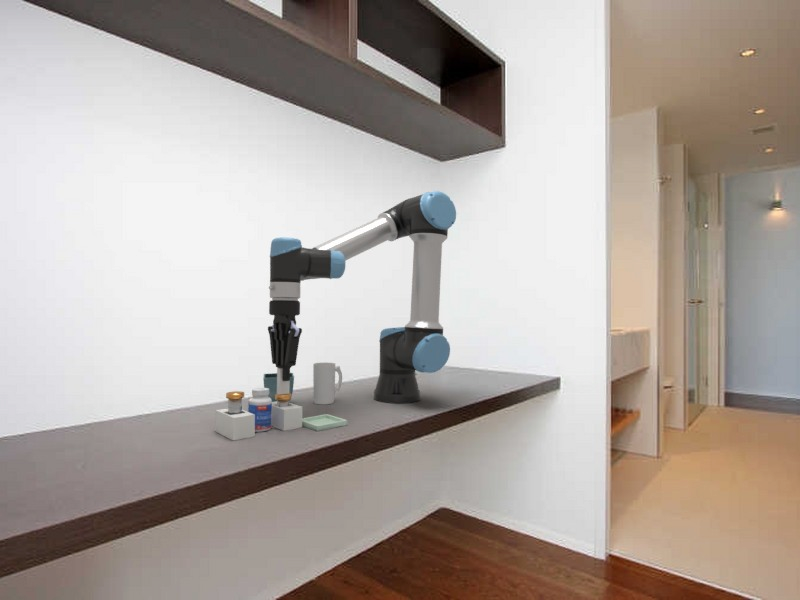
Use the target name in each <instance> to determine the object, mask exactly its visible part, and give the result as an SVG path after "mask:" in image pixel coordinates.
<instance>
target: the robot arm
mask: <svg viewBox="0 0 800 600" xmlns="http://www.w3.org/2000/svg"><path fill="white" fill-rule="evenodd" d="M456 218H457V209H456V206H455V204H454V201H452V200H451V198H450V196H449V195H447V193H444V192H442V191H440V190H439V191H438V190H437V191H436V190H433V191H428V192H424V193H422V194H420V195H417V196H414V197H413V196H412V197H410V198H407V199H405V200H403V201H401V202H399V203H398V204H396V205H394V206H393V207H391V208H389V209H387V210H385V211H383V212H381V213H379V214H378V215H377V218H374V219H373V220H372V221H369V222H367V223H365V224H362V225H360V226H358V227H356V228H355V227H354V229H352V230H349V231H347V232H345V233H343V234H340V235H338V236H336V237H334V238H332V239H329V240H327V241H325V242H323V243H321V244H319V245H316V246H314V247H312V248H306V247H303V245H302V241H301V239H299V238H295V237H285V236H284V237H283V236H282V237H275V238H273V239H272V240H271V242H270V251H269V252H270V253H269V287H268V289H269V297H270V298H269V299H271V300H270V301H269V304H268V310H269V311H268V314H269V315H270V316H274V317H273V320H272V321H273V323H272V325H270V326H268V327H267V330H268V335H269V343H270V344H269V345H270V353H271V354H270V355H271V363H272V364H273V365H275V367H276V373H277V394H279V395H281V394H289V388H290V373H291V368H292V367H294V366H296V363H297V358H298V357H297V356H298V352H299V351H298V350H299V345H300V338H301V335H302V332H303V329H302V327H301V328H300V327H297V320H296V316H299V315H301V301H299V299H300V298H301V282H302V281H305V280H316V279H329V280H333V279H340V278H342V277H343V275H344V274H345V272H346V271H345V270H346V263H347V262H346V261H348V260H350V259H352V258H354V257H356V256H358V255H360V254H361V253H364V252H366V251H369V250H371V249H373V248H375V247H377V246H378V245H381V244H383V243H385V242H394V241H396V240H398V239H400V238H405V237H409V238H410V240H411V241H412V242H413V257H412V258H413V259H412V278H411V296H410V297H411V299H410V301H411V302H410V316H409V317H410V319H409V321H408V322H407V324H405V326H402V327H401V326H398V327H388V328H383V329H381V331H380V332H379V333H380V336H379V340H378V341H379V375H378V379H377V381H376V386H375V389H374V390H373V400H375V401H378V402H384V403H391V404H392V403H393V404H405V403H413V402H418V401H420V400H421V391H420V389H419V386H418V381H417V380H418V379H417V377H416V371H417V372H420V373H427V374H428V373H429V374H430V373H431V374H432V373H436V372H438V371H440V370H441V369H442V368H443V367H444V366H445V365H446V364H447V362H448V360H449V358H450V354H451V346H450V342H449V341H448V339H447V338H446V337H445V335H444V327H443V326H442V324H441V323H440V319H439V315H440V301H441V299H440V297H441V295H440V294H441V276H442V275H441V274H442V270H441V269H442V255H443V254H442V253H443V251H442V250H443V243H444V242H445V241H446V240H447V239H448V234H449V232H448V231H449V229H450V228H451V227H452V226H453V225H454V224H455V222H456Z"/></svg>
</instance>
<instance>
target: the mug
mask: <svg viewBox="0 0 800 600" xmlns="http://www.w3.org/2000/svg"><path fill="white" fill-rule="evenodd" d="M312 367H313V371H312V372H313V373H312V374H313V375H312V376H313V379H312V381H313V384H312V385H313V403H314V405H331V404H334V403H335V394H336V393H337V392H340V390H341V386H342V382H343V373H342V370H341V367H340V366H339V365H336V363H334V362H315V363H313V366H312ZM336 372H337V374H338V382H337V384H336ZM335 385H336V386H335Z"/></svg>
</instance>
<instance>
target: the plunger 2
mask: <svg viewBox="0 0 800 600" xmlns="http://www.w3.org/2000/svg"><path fill="white" fill-rule="evenodd" d="M292 397H293V393H292V394H290V393H289V394H281V395H279V394H275V399H276V400H277V406H278V407H286V406H289V403H290V401H289V399H290V400H291V399H292Z"/></svg>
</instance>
